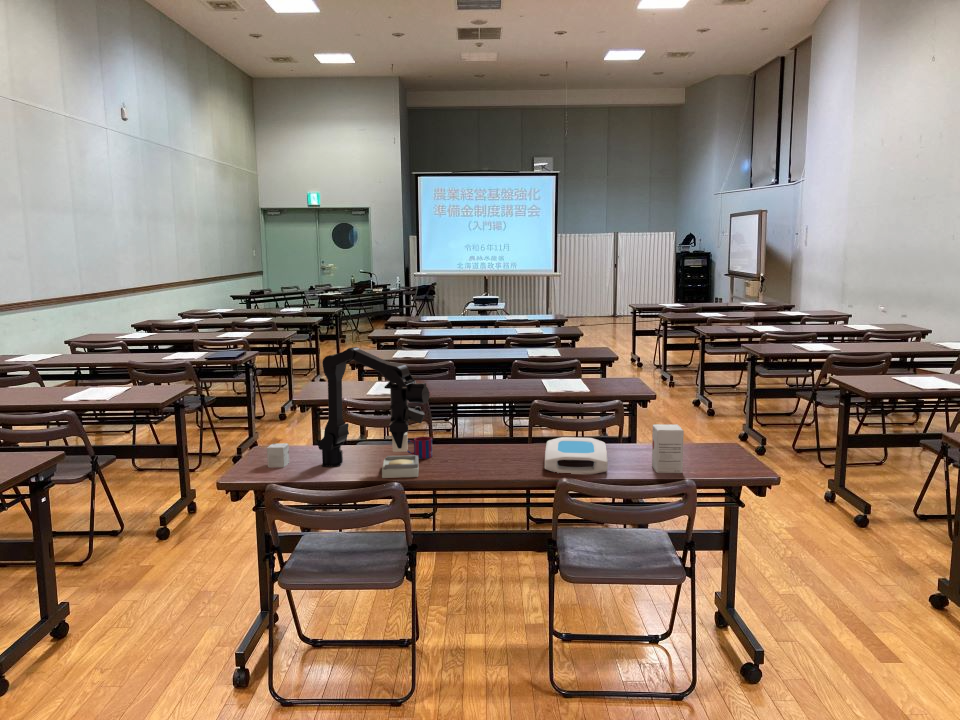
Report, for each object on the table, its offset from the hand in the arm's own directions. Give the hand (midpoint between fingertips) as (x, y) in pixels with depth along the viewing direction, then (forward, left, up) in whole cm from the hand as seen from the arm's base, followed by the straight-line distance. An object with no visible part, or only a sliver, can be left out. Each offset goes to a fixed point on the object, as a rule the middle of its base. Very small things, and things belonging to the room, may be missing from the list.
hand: (400, 446), depth 241 cm
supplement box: (+91, -8, -9) cm, 92 cm away
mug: (+6, +19, -9) cm, 22 cm away
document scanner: (+62, +4, -9) cm, 63 cm away
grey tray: (0, 0, -9) cm, 9 cm away
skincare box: (-44, +13, -9) cm, 47 cm away
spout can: (-1, 0, -1) cm, 2 cm away
